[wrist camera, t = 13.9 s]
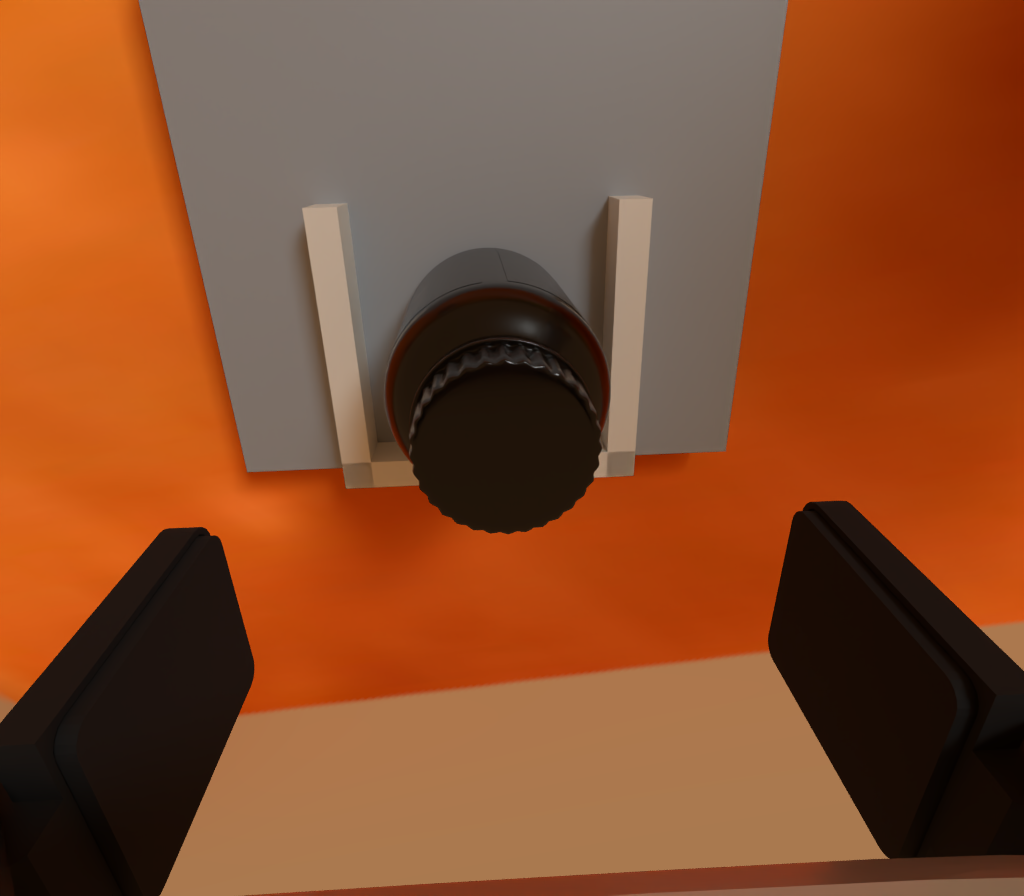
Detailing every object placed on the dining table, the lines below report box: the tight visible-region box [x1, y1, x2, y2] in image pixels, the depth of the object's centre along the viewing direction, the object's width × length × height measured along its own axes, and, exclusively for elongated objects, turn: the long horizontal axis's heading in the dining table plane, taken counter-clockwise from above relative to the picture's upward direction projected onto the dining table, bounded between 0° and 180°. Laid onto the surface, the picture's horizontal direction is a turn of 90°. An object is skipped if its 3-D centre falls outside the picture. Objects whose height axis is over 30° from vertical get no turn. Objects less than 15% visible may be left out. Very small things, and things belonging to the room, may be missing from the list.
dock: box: [139, 0, 788, 489], centre depth 25 cm, size 20×22×5 cm
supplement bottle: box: [384, 248, 611, 534], centre depth 20 cm, size 7×7×12 cm
